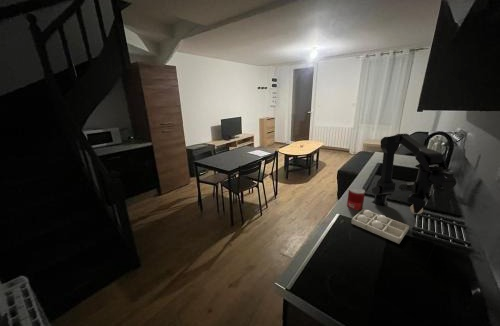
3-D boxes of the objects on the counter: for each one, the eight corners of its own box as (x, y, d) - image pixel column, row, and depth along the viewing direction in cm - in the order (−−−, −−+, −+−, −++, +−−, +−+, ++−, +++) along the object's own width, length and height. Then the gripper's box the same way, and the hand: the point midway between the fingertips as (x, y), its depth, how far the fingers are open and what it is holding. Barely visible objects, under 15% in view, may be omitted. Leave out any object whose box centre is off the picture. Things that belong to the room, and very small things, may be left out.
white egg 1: (358, 219, 105) (360, 211, 103) (368, 223, 101) (369, 215, 100) (354, 223, 102) (356, 215, 101) (364, 227, 99) (366, 219, 97)
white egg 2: (364, 214, 109) (365, 207, 107) (373, 218, 106) (374, 210, 104) (360, 218, 106) (361, 210, 105) (370, 221, 103) (371, 213, 101)
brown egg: (410, 208, 98) (413, 200, 96) (423, 212, 95) (425, 204, 93) (408, 213, 96) (410, 204, 94) (420, 217, 92) (422, 208, 91)
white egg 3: (372, 225, 100) (374, 217, 99) (383, 229, 97) (385, 221, 95) (369, 229, 97) (370, 220, 96) (379, 233, 94) (381, 225, 92)
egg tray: (362, 213, 111) (363, 208, 110) (408, 231, 96) (409, 225, 95) (350, 224, 102) (351, 218, 101) (398, 244, 88) (400, 239, 87)
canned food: (364, 211, 113) (367, 193, 109) (348, 210, 114) (351, 192, 111) (359, 204, 120) (362, 187, 117) (345, 203, 122) (347, 186, 118)
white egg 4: (377, 219, 104) (379, 212, 103) (388, 223, 101) (389, 215, 99) (374, 223, 101) (375, 215, 100) (384, 227, 98) (386, 219, 96)
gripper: (408, 170, 101) (402, 198, 106) (396, 180, 90) (390, 211, 95) (438, 176, 93) (429, 206, 98) (429, 188, 82) (420, 222, 87)
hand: (416, 211), depth 95 cm, fingers closed on brown egg, 5 cm apart
